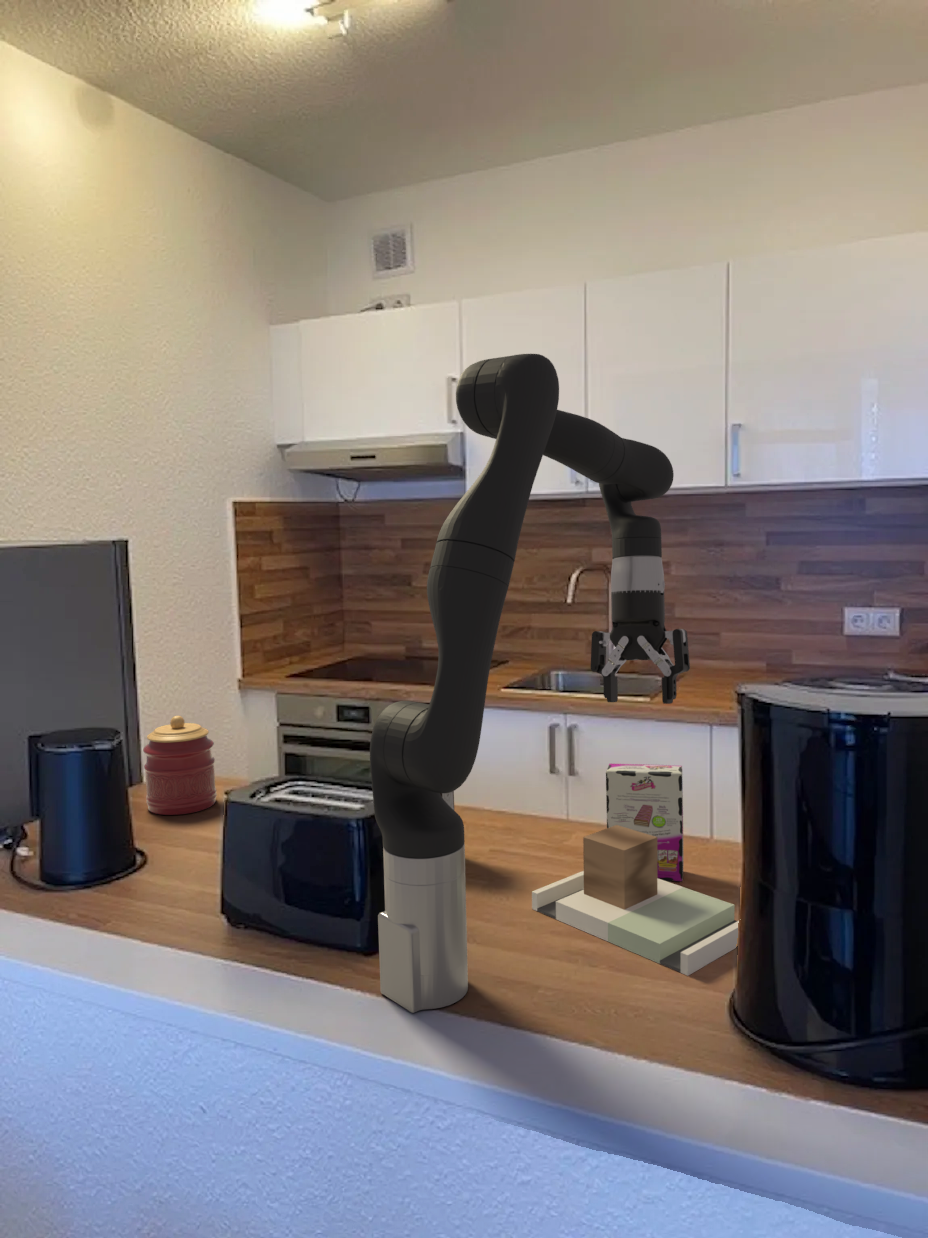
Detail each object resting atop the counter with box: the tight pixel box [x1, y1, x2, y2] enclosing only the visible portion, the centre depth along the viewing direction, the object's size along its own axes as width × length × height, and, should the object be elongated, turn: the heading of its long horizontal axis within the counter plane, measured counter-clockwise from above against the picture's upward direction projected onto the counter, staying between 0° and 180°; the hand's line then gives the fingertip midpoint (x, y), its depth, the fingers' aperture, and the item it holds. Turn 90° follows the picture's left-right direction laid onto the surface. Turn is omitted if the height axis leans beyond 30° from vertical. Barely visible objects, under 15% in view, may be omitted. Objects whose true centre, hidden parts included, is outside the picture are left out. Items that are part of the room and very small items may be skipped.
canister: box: [142, 715, 217, 816], centre depth 175 cm, size 13×13×18 cm
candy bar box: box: [605, 763, 684, 882], centre depth 136 cm, size 11×5×16 cm, turn 76°
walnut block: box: [582, 825, 657, 910], centre depth 123 cm, size 7×7×8 cm
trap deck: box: [531, 870, 739, 976], centre depth 121 cm, size 16×26×2 cm, turn 41°
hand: (639, 702), depth 130 cm, fingers open, 8 cm apart
